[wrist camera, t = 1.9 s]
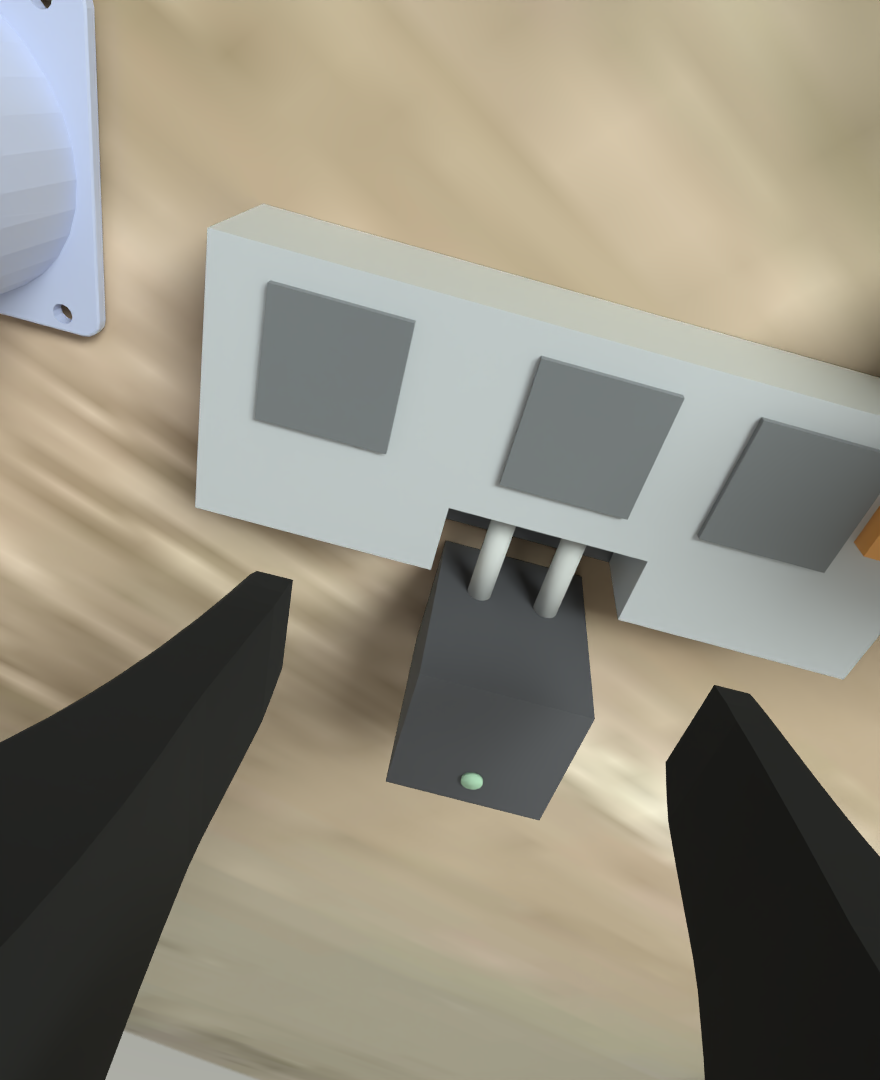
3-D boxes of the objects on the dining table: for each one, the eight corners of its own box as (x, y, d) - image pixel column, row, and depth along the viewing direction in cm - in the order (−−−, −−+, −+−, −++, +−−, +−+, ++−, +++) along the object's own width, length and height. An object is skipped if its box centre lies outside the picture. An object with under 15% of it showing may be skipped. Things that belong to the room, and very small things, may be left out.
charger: (416, 639, 24) (385, 784, 19) (468, 465, 20) (446, 589, 15) (538, 671, 25) (539, 823, 20) (614, 504, 21) (639, 641, 16)
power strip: (242, 449, 21) (185, 519, 18) (263, 203, 17) (195, 232, 14) (802, 600, 22) (851, 695, 18) (944, 395, 18) (1041, 469, 14)
